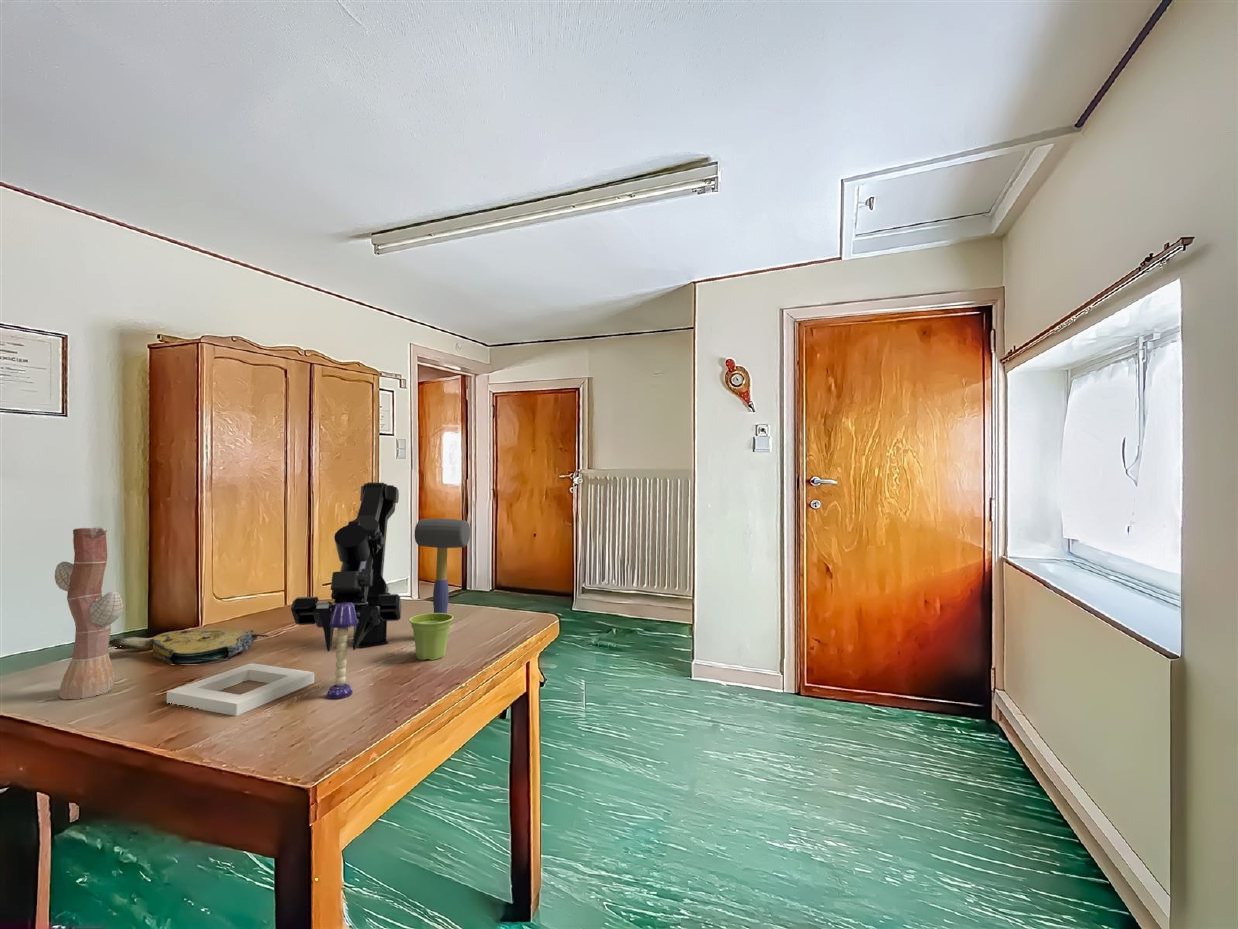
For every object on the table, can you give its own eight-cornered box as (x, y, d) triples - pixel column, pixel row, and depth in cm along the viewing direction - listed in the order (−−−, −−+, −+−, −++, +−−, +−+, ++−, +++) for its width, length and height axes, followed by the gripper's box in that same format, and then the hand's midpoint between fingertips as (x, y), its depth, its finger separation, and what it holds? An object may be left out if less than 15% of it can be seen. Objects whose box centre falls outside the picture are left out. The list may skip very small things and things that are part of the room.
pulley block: (143, 617, 129) (269, 620, 129) (145, 640, 130) (271, 644, 129) (83, 644, 115) (225, 648, 115) (86, 670, 116) (227, 675, 115)
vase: (127, 687, 103) (134, 526, 104) (80, 702, 96) (88, 529, 97) (86, 681, 106) (94, 524, 107) (38, 695, 99) (46, 527, 100)
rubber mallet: (408, 641, 136) (412, 518, 137) (422, 632, 143) (425, 516, 144) (458, 643, 135) (461, 520, 136) (468, 634, 142) (472, 518, 143)
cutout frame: (250, 673, 112) (251, 663, 112) (314, 682, 107) (314, 672, 108) (166, 703, 97) (166, 691, 97) (236, 716, 92) (236, 703, 92)
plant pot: (424, 666, 118) (425, 625, 118) (399, 657, 124) (401, 618, 124) (460, 655, 126) (461, 617, 126) (436, 647, 131) (437, 610, 132)
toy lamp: (327, 691, 103) (331, 601, 104) (355, 688, 105) (358, 599, 106) (325, 700, 99) (328, 607, 100) (354, 697, 101) (357, 605, 101)
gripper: (295, 554, 104) (274, 629, 93) (401, 553, 109) (393, 623, 98) (305, 588, 112) (286, 661, 101) (404, 585, 117) (396, 654, 106)
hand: (341, 649), depth 101 cm, fingers closed on toy lamp, 4 cm apart
